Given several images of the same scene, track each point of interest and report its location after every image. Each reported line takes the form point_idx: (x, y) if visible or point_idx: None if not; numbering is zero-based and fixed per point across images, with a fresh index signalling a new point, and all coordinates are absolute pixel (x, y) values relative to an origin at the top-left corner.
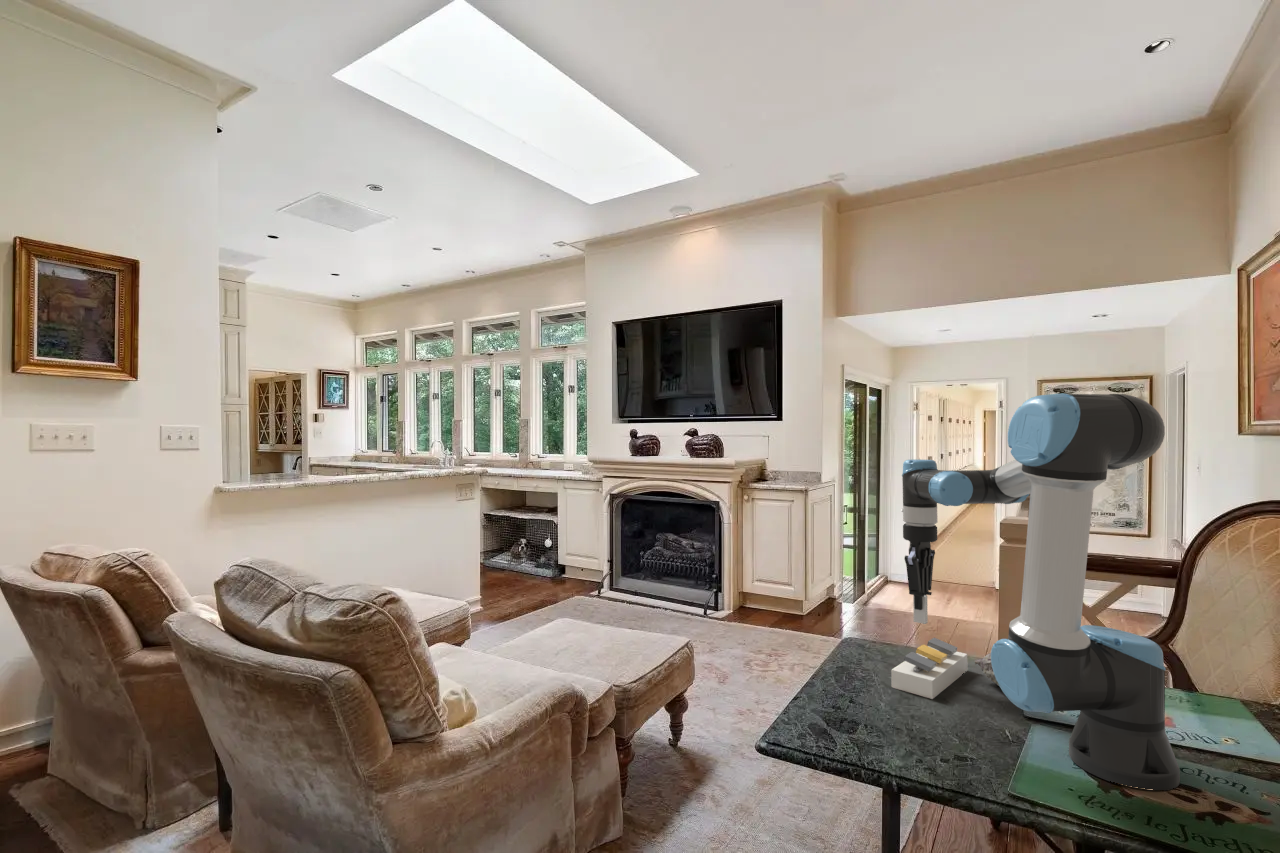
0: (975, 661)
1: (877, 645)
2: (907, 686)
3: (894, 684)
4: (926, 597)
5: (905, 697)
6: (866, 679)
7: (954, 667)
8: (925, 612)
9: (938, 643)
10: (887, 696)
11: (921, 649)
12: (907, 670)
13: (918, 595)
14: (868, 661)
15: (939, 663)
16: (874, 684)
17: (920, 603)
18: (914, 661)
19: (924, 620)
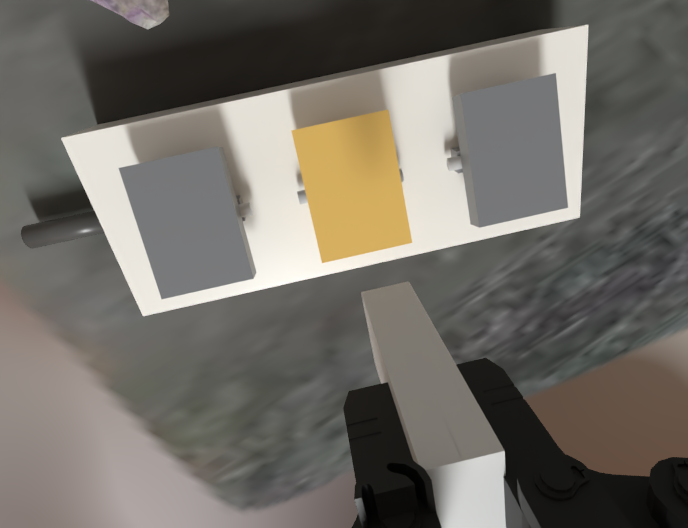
0: (164, 11)
1: (205, 459)
2: None
3: None
4: (447, 446)
5: (594, 108)
6: (532, 284)
7: (272, 91)
8: (428, 332)
9: (208, 240)
10: (628, 153)
11: (397, 225)
12: None
13: (613, 483)
14: (374, 380)
15: None
16: (555, 244)
17: (526, 402)
18: (559, 156)
19: (415, 299)
